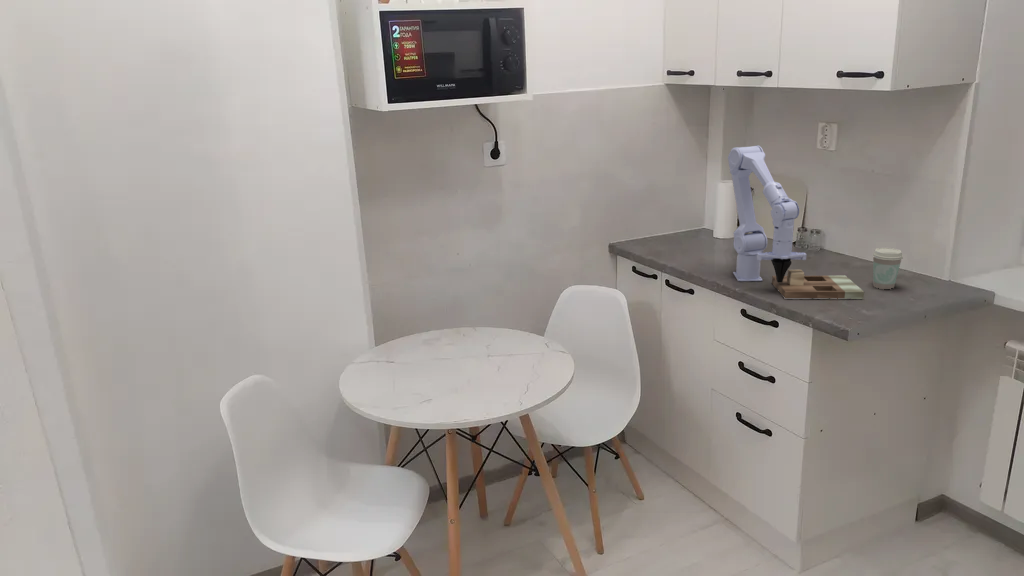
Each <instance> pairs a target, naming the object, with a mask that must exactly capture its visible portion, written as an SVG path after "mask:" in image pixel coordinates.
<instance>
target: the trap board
mask: <svg viewBox="0 0 1024 576" xmlns="http://www.w3.org/2000/svg"><path fill="white" fill-rule="evenodd" d="M771 284H772V285H773V287H774V286H775V287H776V288H777V289H778V290H779V292H780V293H781V294H782V295H783V296H784V297H785V298H837V299H838V298H845V299H847V298H851V299H863V300H864V297H865V291H864V290H863V289H862V288H861V287H860V286H858V285H857V284H856V283H855V282H853V281H852V280H851V279H850V278H849V277H847V275H804V284H803V285H800V286H790V285H789V284H788V282H787V275H785V276H784V278H783V282H777V281H776V275H772V277H771ZM775 287H774V288H775ZM776 288H775V289H776ZM777 289H776V290H777ZM778 290H777V291H778ZM779 292H778V293H779ZM780 293H779V294H780ZM781 294H780V295H781ZM782 295H781V296H782Z"/></svg>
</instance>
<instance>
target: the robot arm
mask: <svg viewBox="0 0 1024 576" xmlns="http://www.w3.org/2000/svg"><path fill="white" fill-rule="evenodd" d="M727 160H728V167H729V173H730V174H731V180H732V186H733V191H734V198H735V203H736V204H735V205H736V210H737V211H736V212H737V216H738V217H737V218H738V222H739V225H738V227H737V228H736V229H735V230H734V231H733V249H734V251H736V253H737V256H736V268H735V269H736V271H733V272H732V274H733V276H734V277H735V279H736V280H737V281H738V282H763V281H764V280H763V278H762V277H761V275H760V272H761V262H762V261H764V260H765V261H771V263H772V265H773V266H772V267H773V269H774V273H775V276H776V281H777V282H783V278H784V276H786V273H787V272H788V270H789V268H790V266H791V265H792V261H791V260H794V261H795V260H799V261H801V260H802V261H806V260H807V253H806V252H797V251H792V250H793V241H794V239H793V238H794V227H795V219H798V217H799V215H800V207H799V204H798V202H797V201H796V200H793V199H792V198H790V197H789V195H788V194H787V193H786V191H785V189H784V188H783V186H782V184H781V183H780V182H777V181H775V180H774V178H773V176H772V174H771V172H770V170H769V167H768V166H767V164H766V161H765V160H766V153H765V152H764V150H763V147H761V145H752V146H739V147H737V146H736V147H732V148H731V149H730V152H729V153H728V155H727ZM752 173H753V174H754V175H755V176H756V178H757V179H758V181H759V182H760V184H761V185H762V186H763V190H762V194H763V195H764V197H765V199H766V201H767V203H768V204H769V206H770V208H771V210H770V216H771V218H772V226H773V237H772V249H771V251H766V252H764V250H766V249H767V247H768V242H769V240H768V237H767V235H766V233H765V229H764V227H763V226H762V225H760V224H759V223H757V218H756V213H755V205H754V199H753V194H752V189H751V188H752V187H751V183H750V182H751V181H750V175H751V174H752Z"/></svg>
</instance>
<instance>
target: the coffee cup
mask: <svg viewBox="0 0 1024 576" xmlns="http://www.w3.org/2000/svg"><path fill="white" fill-rule="evenodd" d="M872 257H873V261H872V262H873V265H872V266H873V267H872V268H873V269H872V270H873V271H872V272H873V273H872V274H873V277H872V279H873V282H872V283H873V288H875V287H876V288H875V289H878V288H879V289H878V290H884V289H890V290H892V289H891V288H893V289H894V288H895V284H896V282H897V281H896V280H897V277H898V273H899V271H900V266H901V263H902V259H904V258H903V257H904V255H903V252H902V250H901V249H897V248H893V247H879V248H878V247H877V248H875V250H874V252H872Z"/></svg>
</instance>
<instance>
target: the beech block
mask: <svg viewBox="0 0 1024 576" xmlns="http://www.w3.org/2000/svg"><path fill="white" fill-rule="evenodd" d="M786 276H787V282H788V284H789V285H790V286H800V285H803V284H804V276H805V272H804V271H803V270H802V269H788V270H787V275H786Z"/></svg>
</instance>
